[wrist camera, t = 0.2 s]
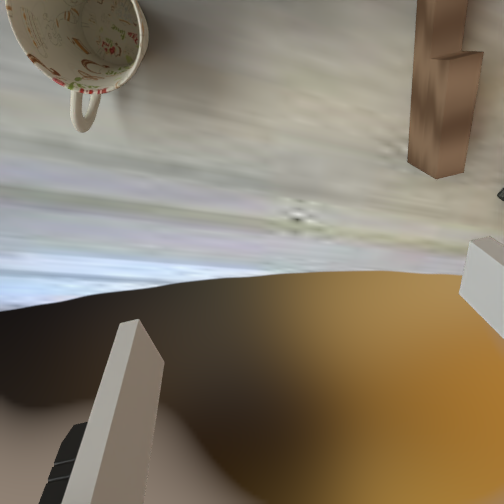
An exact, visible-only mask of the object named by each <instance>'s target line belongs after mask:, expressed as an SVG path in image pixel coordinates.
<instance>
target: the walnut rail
mask: <svg viewBox="0 0 504 504" xmlns="http://www.w3.org/2000/svg"><path fill="white" fill-rule="evenodd" d="M467 5H468V0H417V14H416V30H415V47H414V63H413V79H412V95H411V112H410V128H409V144H408V161H407V162H408V163H410V164H411V165H413V166H415V167H416V168H418V169H420V170H421V171H423V172H425V173H426V174H428V175H430V176H431V177H433V178H435V179H439V178H443V177H447V176H451V175H455V174H459V173H464V167H465V161H466V155H467V149H468V143H469V137H470V131H471V125H472V119H473V113H474V107H475V101H476V95H477V89H478V83H479V77H480V71H481V65H482V59H483V53H484V52H477V51H461V50H462V42H463V35H464V27H465V20H466V12H467Z"/></svg>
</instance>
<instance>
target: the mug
mask: <svg viewBox="0 0 504 504" xmlns="http://www.w3.org/2000/svg"><path fill="white" fill-rule="evenodd" d="M5 3H6V9H7V15H8V18H9V21H10V25H11V27H12V30H13V32H14V34H15V37H16V39H17V41H18V42H19V44H20V46H21V47H22V49H23V50H24V52H25V54H26V55H27V56H28V57H29V59H30V60H31V61H32V62H33V63H34V64H35V66H36V67H37V68H38V69H39V70H40V71H42V72H43V73H44V74H45V75H46V76H48V77H49V78H50V79H52V80H53V81H55V82H56V83H58V84H60V85H62V86H63V87H66V88H68V89H70V90H71V100H70V115H71V120H72V123H73V125H74V127H75V129H76V130H77V131H79V132H81V133H84V132H86V131H88V130H89V129H90V127H91V126H92V124H93V122H94V120H95V117H96V113H97V109H98V106H99V103H100V99H101V94H103V93H107V92H111V91H113V90H116V89H118V88H120V87H121V86H123V85H124V84H125V83H126V82H128V81H129V80H130V79H131V77H132V76H133V75H134V74H135V72H136V71H137V69H138V67H139V65H140V63H141V61H142V59H143V57H144V55H145V53H146V51H147V48H148V43H149V31H148V25H147V22H146V19H145V16H144V14H143V12H142V10H141V8H140V6H139V4H138V2H137V0H5ZM83 93H85V94H91V96H90V103H89V108H88V111H87V113H86V115H85V117H84V118H83V115H82V95H83Z"/></svg>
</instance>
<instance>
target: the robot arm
mask: <svg viewBox="0 0 504 504" xmlns="http://www.w3.org/2000/svg"><path fill="white" fill-rule="evenodd" d="M459 294H460V295H461V296H462V297H463V298H464V299H465V300H466V301H467V302H468V303H469V304H470V305H471V306H472V307H473V308H474V309H475V310H476V311H477V312H478V313H479V314H480V315H481V316H482V317H483V319H485V320H486V322H488V324H489V325H491V327H492V328H493V329H495V331H496V332H497V333H498V334H499V335H500V336H501V337H502V338H503V339H504V245H502V244H501V243H499V242H498V241H496V240H495V239H493V238H492V237H490V236H488V237H484V238H480V239H476V240H471V241H470V243H469V248H468V253H467V258H466V262H465V267H464V272H463V277H462V281H461V287H460V291H459ZM163 367H164V361H163V359H162V357H161V356H160V354H159V352H158V351H157V349H156V347H155V345H154V344H153V342H152V341H151V339H150V337H149V335H148V334H147V332H146V330H145V329H144V327H143V325H142V323H141V322H140V320H139V319H137V320H132V321H129V322H124V323H120V326H119V329H118V331H117V335H116V338H115V341H114V344H113V347H112V350H111V353H110V356H109V359H108V362H107V365H106V369H105V371H104V375H103V378H102V381H101V384H100V387H99V390H98V393H97V396H96V399H95V402H94V405H93V408H92V411H91V414H90V418H89V420H88V422H85V423H81V424H76V425H74V426H73V427H72V429H71V430H70V432H69V433H68V435H67V436H66V438H65V439H64V440H63V442H62V443H61V446H60V448H59V451H58V454H57V456H56V459H55V462H54V467H52V470H51V472H50V475H49V478H48V483H47V484H46V486H45V488H44V491H43V494H42V496H41V499H40V502H39V504H143V503H144V496H145V489H146V483H147V475H148V469H149V462H150V456H151V448H152V442H153V435H154V428H155V422H156V415H157V407H158V401H159V394H160V387H161V381H162V374H163Z"/></svg>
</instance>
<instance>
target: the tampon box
mask: <svg viewBox="0 0 504 504" xmlns="http://www.w3.org/2000/svg"><path fill="white" fill-rule="evenodd" d="M497 196H498V197H499V198H500V199H501V200H503V201H504V188H503V189H502V190H501V191H500V192H499V193H498V195H497Z"/></svg>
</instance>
